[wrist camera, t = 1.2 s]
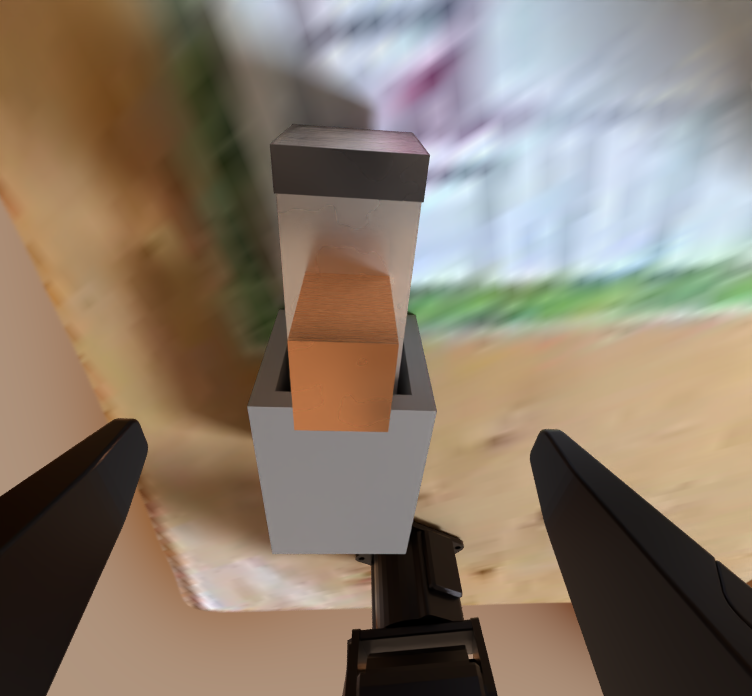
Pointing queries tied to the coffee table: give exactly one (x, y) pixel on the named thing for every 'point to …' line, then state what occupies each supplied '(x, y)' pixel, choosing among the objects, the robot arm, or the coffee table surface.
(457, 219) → the coffee table surface
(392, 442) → the sleeve
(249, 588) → the coffee table surface
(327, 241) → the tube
